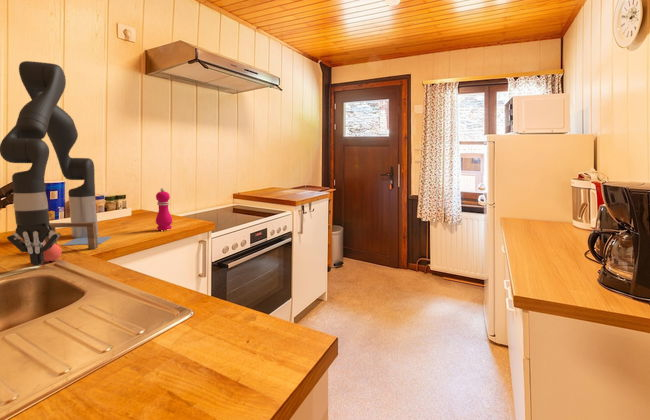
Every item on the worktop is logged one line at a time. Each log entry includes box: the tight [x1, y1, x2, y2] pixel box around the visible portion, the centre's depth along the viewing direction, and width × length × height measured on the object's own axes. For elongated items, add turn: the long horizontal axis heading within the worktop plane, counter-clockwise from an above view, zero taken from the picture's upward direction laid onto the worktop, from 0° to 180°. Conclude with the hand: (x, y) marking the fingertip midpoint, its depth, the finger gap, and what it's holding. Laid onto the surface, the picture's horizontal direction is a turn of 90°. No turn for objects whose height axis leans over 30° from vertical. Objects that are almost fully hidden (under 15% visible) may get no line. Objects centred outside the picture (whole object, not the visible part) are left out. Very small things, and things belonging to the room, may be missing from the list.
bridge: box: [45, 222, 99, 251], centre depth 124 cm, size 3×15×10 cm, turn 105°
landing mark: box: [62, 236, 112, 246], centre depth 138 cm, size 13×13×1 cm
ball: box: [44, 243, 63, 263], centre depth 109 cm, size 6×6×6 cm
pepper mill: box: [155, 187, 173, 231], centre depth 161 cm, size 7×7×20 cm
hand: (37, 264), depth 102 cm, fingers closed
